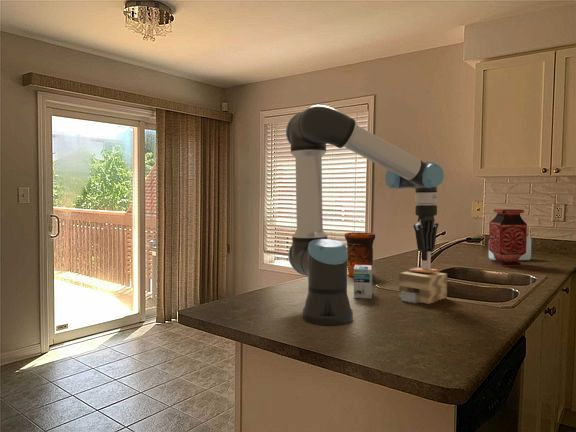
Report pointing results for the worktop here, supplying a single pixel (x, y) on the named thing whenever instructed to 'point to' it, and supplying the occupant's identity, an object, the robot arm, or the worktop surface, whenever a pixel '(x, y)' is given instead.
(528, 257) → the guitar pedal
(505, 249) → the vase
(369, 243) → the vessel
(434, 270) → the keeper tab
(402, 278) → the block
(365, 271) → the light bulb box
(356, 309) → the worktop surface
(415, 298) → the grey t-shaped bar
